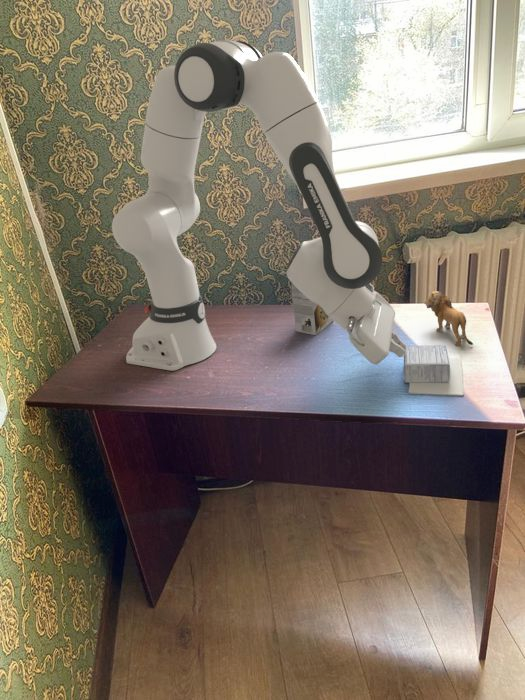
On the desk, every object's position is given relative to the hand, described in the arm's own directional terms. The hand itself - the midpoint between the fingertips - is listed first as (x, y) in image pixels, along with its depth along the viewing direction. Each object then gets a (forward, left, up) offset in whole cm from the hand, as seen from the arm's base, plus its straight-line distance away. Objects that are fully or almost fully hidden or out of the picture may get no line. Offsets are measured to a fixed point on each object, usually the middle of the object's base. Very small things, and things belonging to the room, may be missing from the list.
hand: (403, 351), depth 109 cm
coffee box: (-23, +22, -6) cm, 32 cm away
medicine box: (0, 0, -3) cm, 3 cm away
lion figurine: (+9, +19, -6) cm, 21 cm away
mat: (+6, 0, -5) cm, 8 cm away
